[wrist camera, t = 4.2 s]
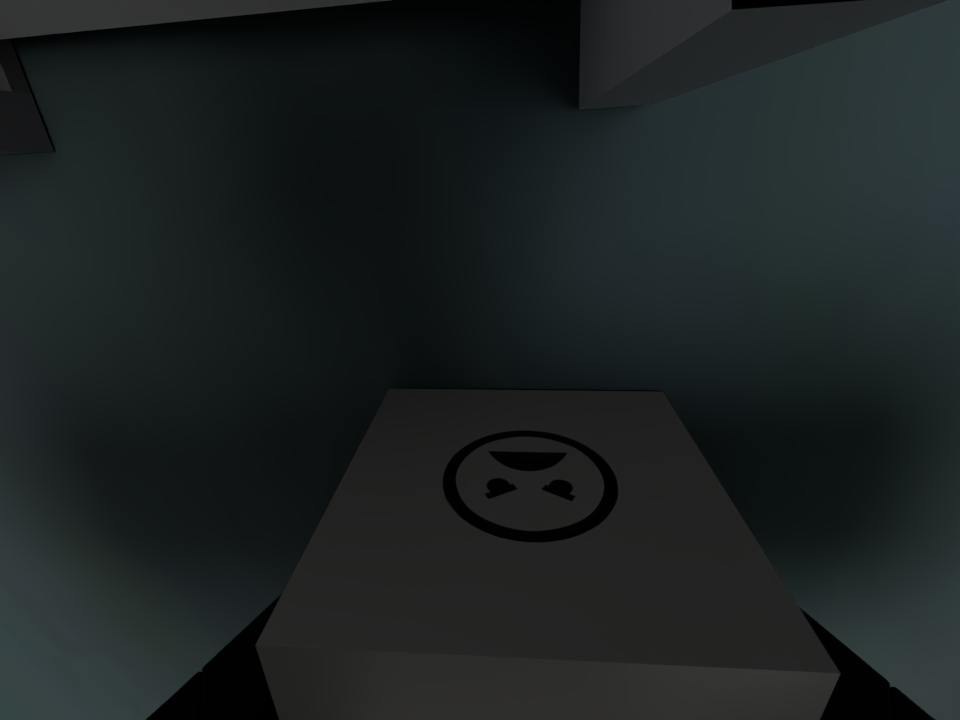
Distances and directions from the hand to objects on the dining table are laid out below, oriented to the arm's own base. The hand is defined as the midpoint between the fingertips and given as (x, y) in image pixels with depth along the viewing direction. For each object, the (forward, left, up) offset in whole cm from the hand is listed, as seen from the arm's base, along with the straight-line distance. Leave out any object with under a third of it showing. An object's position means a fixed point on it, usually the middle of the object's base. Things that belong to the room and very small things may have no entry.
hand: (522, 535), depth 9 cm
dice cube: (0, 0, -1) cm, 1 cm away
